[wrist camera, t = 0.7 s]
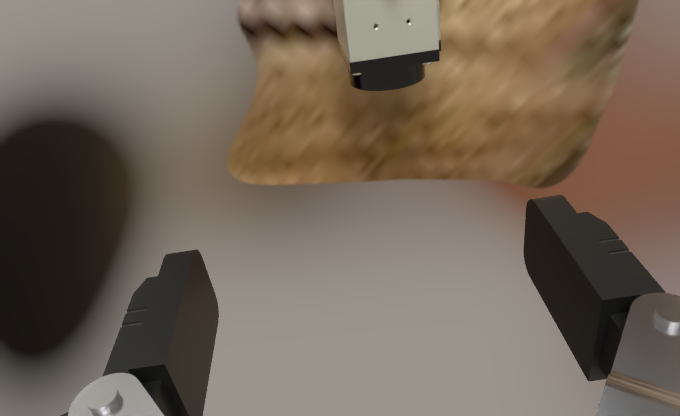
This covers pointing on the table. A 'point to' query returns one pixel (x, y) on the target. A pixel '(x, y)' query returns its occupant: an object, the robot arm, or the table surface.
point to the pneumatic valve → (387, 41)
